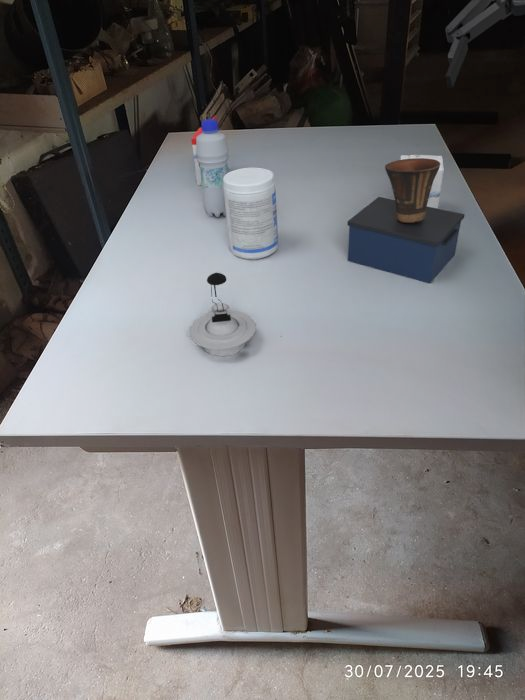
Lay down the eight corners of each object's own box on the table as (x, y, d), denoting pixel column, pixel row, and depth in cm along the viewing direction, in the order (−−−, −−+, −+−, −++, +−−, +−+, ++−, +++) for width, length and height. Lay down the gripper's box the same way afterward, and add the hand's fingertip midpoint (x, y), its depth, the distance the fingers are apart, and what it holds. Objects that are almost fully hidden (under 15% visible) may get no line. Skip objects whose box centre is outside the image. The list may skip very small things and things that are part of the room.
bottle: (220, 204, 124) (210, 113, 112) (239, 212, 120) (232, 118, 108) (197, 214, 121) (185, 120, 108) (217, 222, 117) (206, 126, 104)
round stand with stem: (248, 252, 79) (179, 259, 78) (255, 287, 71) (179, 295, 71) (253, 320, 87) (191, 327, 86) (260, 359, 79) (192, 367, 78)
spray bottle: (204, 173, 141) (197, 114, 132) (222, 173, 140) (217, 114, 131) (196, 186, 134) (188, 124, 125) (216, 186, 133) (209, 124, 124)
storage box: (459, 254, 100) (466, 214, 95) (433, 285, 92) (440, 243, 87) (373, 234, 109) (376, 196, 104) (343, 260, 101) (345, 220, 96)
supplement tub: (287, 252, 104) (285, 178, 95) (243, 266, 101) (236, 190, 92) (263, 234, 111) (259, 162, 102) (221, 246, 108) (213, 173, 99)
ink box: (436, 226, 110) (445, 169, 103) (393, 224, 112) (399, 168, 104) (434, 208, 117) (442, 154, 109) (394, 207, 118) (399, 153, 111)
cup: (398, 203, 101) (404, 148, 94) (441, 215, 95) (451, 158, 89) (370, 219, 96) (374, 162, 90) (414, 233, 91) (422, 174, 84)
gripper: (460, -66, 82) (408, 63, 82) (651, -75, 70) (590, 76, 70) (466, -27, 89) (418, 93, 88) (641, -29, 77) (586, 109, 76)
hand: (494, 86), depth 79 cm, fingers open, 13 cm apart
